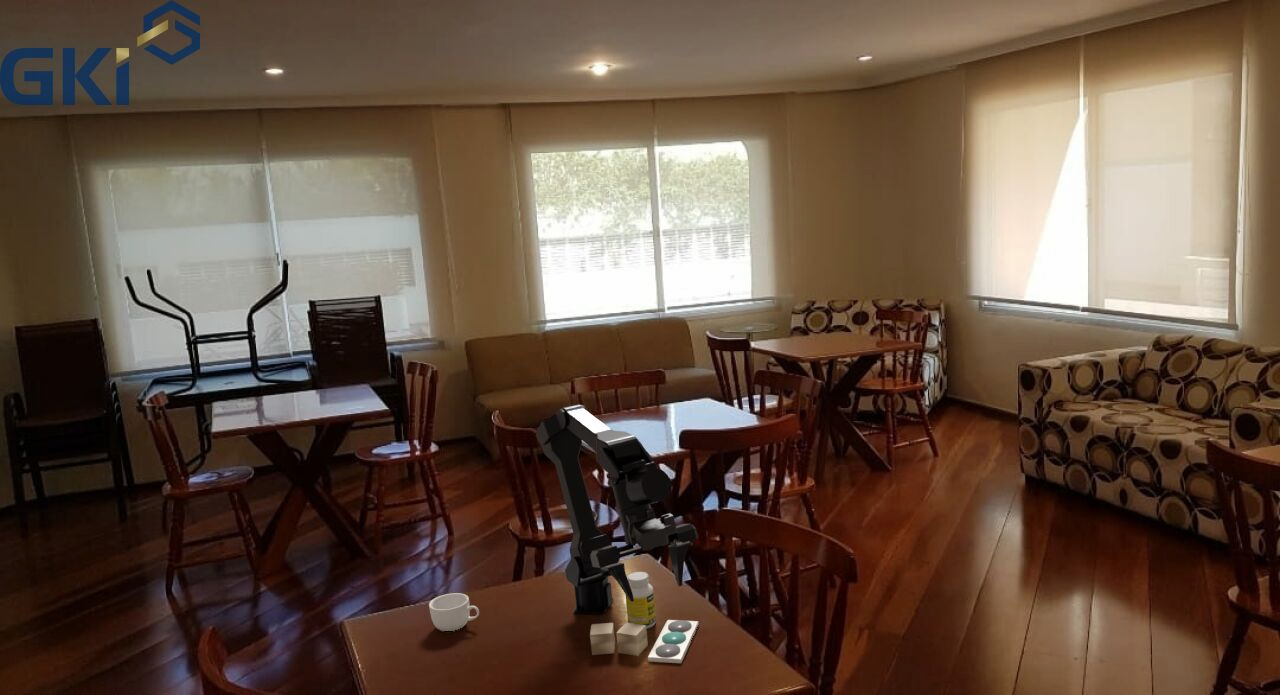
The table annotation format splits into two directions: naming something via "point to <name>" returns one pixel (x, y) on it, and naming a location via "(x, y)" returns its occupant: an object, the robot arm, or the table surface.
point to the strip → (673, 641)
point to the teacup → (451, 611)
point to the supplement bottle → (641, 600)
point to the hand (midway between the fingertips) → (656, 593)
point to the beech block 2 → (632, 639)
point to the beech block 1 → (602, 638)
